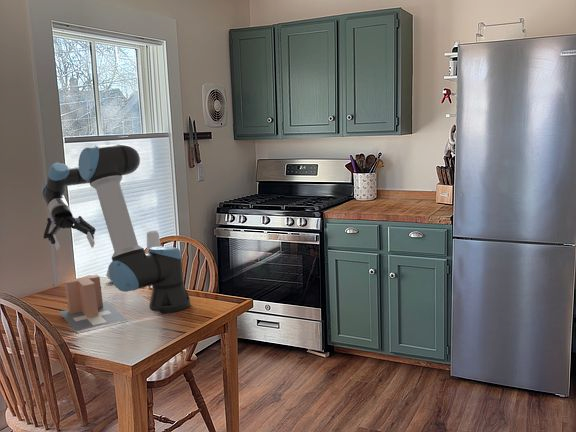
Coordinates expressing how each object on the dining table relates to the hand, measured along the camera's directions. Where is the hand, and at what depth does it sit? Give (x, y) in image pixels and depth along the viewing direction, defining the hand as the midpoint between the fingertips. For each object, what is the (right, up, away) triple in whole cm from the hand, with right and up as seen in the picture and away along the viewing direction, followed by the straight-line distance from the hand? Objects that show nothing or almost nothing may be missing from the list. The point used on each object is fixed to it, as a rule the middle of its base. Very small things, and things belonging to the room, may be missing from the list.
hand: (76, 246), depth 227 cm
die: (+5, -18, +37) cm, 41 cm away
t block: (+9, -24, -11) cm, 28 cm away
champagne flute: (+27, -18, +23) cm, 40 cm away
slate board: (+11, -25, -15) cm, 32 cm away
